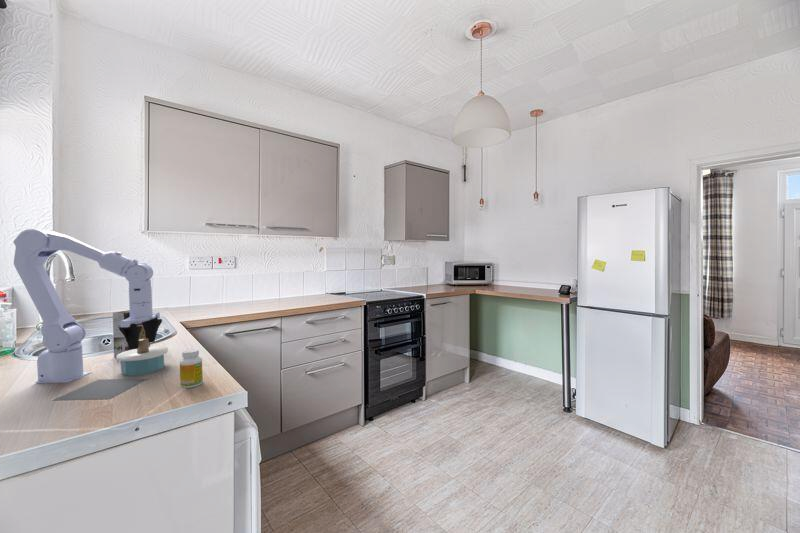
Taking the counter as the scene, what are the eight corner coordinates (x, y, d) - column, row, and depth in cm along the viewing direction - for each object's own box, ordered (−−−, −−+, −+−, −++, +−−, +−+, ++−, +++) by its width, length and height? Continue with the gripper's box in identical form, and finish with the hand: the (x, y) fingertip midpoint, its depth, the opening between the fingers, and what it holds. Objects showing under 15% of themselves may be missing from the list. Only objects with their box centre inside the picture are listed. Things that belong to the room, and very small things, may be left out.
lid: (105, 361, 103) (104, 345, 103) (136, 349, 116) (136, 334, 116) (150, 360, 103) (149, 344, 103) (176, 348, 116) (176, 334, 116)
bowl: (112, 376, 104) (111, 360, 104) (138, 365, 115) (137, 350, 115) (149, 376, 105) (148, 359, 104) (171, 364, 115) (171, 349, 115)
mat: (52, 401, 87) (52, 400, 87) (98, 380, 101) (98, 379, 101) (109, 400, 88) (109, 398, 88) (147, 379, 102) (147, 378, 102)
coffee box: (128, 358, 122) (126, 313, 121) (113, 357, 123) (111, 312, 123) (151, 351, 131) (149, 308, 130) (137, 350, 132) (135, 308, 132)
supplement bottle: (198, 387, 96) (197, 352, 95) (176, 389, 95) (175, 354, 94) (205, 380, 101) (204, 347, 100) (185, 381, 100) (184, 348, 99)
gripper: (137, 305, 102) (139, 351, 102) (168, 298, 116) (169, 339, 117) (112, 306, 102) (114, 352, 102) (146, 299, 116) (148, 339, 117)
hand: (142, 345), depth 110 cm, fingers open, 7 cm apart
